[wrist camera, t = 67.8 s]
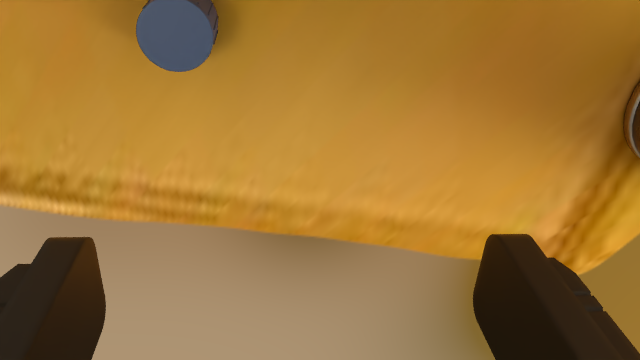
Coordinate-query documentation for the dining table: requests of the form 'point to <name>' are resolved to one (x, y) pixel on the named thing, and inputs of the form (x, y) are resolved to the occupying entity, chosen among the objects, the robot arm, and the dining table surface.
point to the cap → (177, 32)
